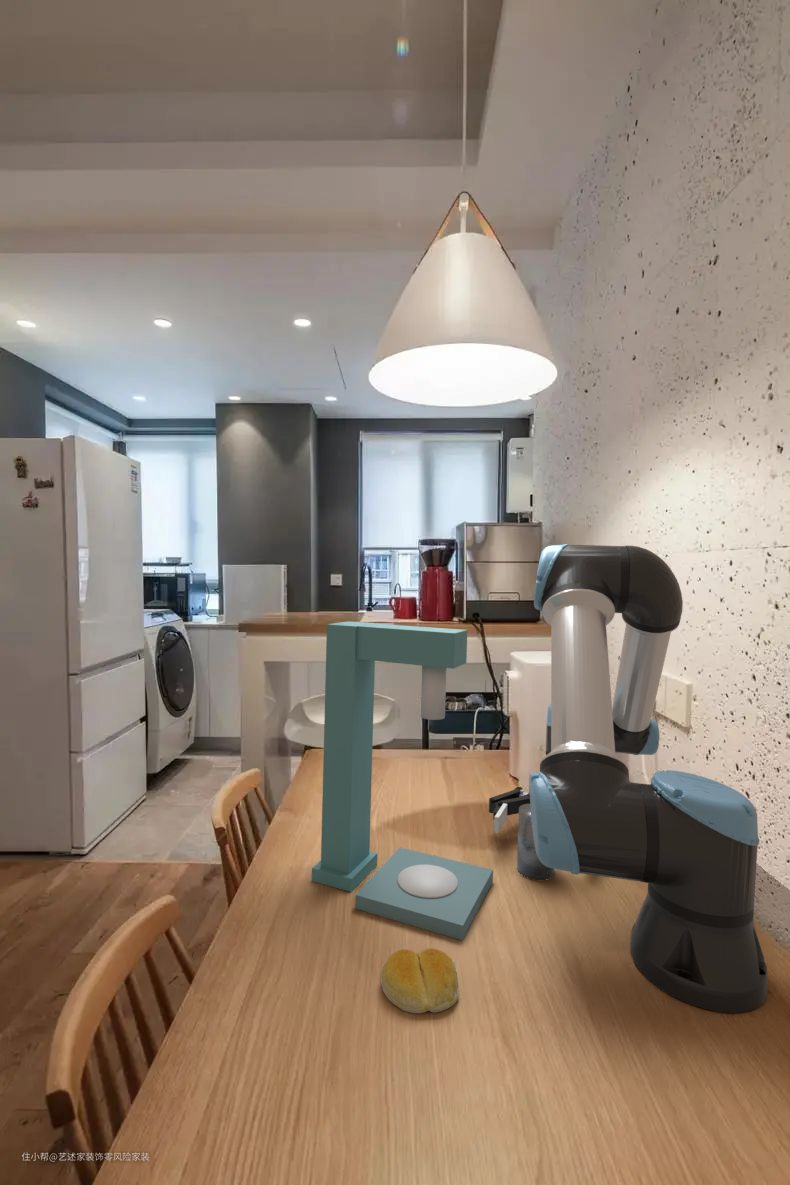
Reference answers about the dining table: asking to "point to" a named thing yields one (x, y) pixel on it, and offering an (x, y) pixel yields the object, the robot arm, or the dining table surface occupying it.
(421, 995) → the bread roll
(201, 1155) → the dining table surface
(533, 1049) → the dining table surface
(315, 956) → the dining table surface
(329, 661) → the arbor press
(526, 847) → the cylinder
